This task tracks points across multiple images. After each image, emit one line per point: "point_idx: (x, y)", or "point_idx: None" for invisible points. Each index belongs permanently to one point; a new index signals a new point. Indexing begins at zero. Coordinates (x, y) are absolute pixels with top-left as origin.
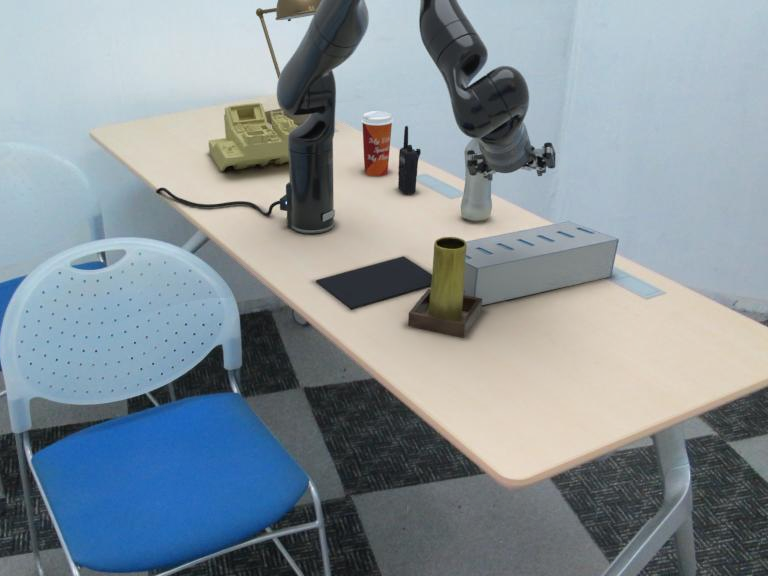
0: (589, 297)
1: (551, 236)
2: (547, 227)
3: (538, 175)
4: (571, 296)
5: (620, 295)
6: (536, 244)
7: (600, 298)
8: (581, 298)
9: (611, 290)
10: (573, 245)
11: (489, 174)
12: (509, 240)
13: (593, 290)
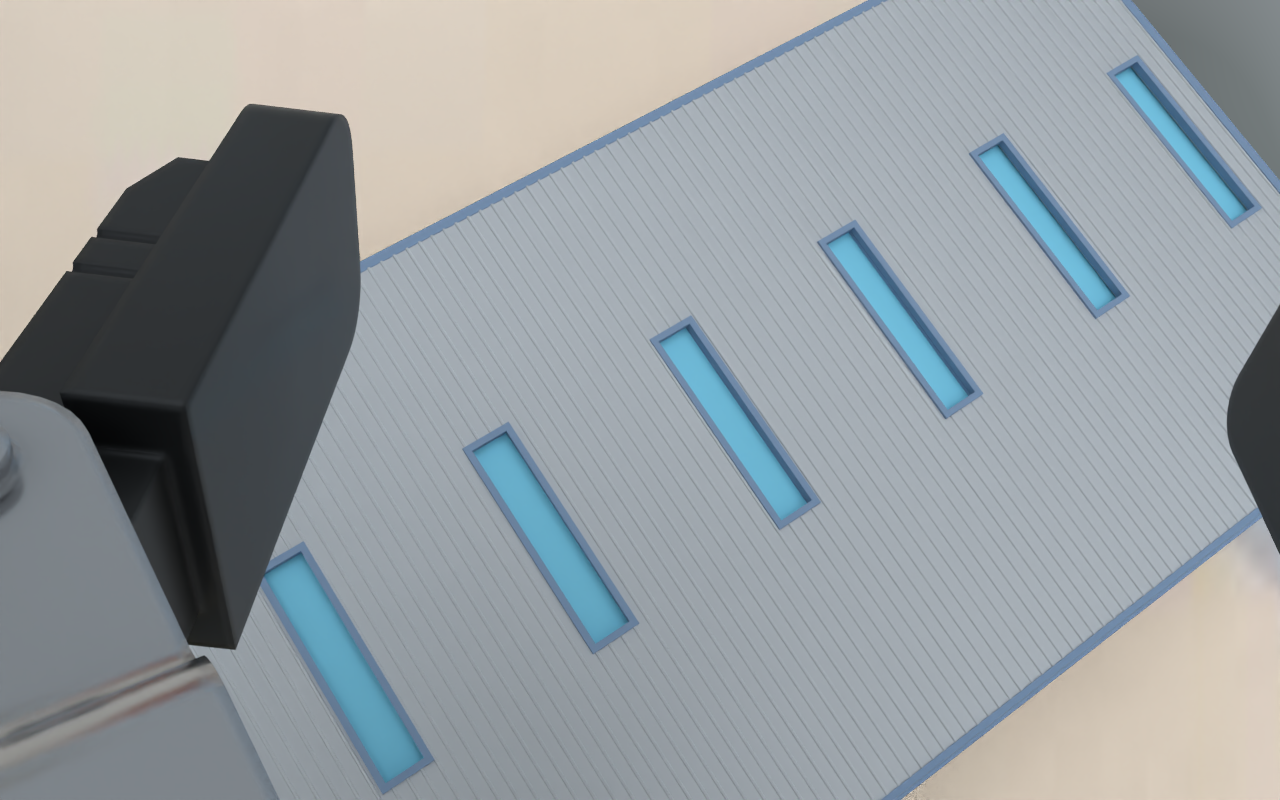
0: (1088, 754)
1: (943, 264)
2: (903, 30)
3: (1258, 483)
4: (981, 756)
5: (1261, 695)
6: (828, 482)
7: (1151, 758)
8: (1041, 777)
9: (1213, 629)
10: (1128, 521)
11: (227, 647)
12: (593, 345)
13: (1112, 643)
